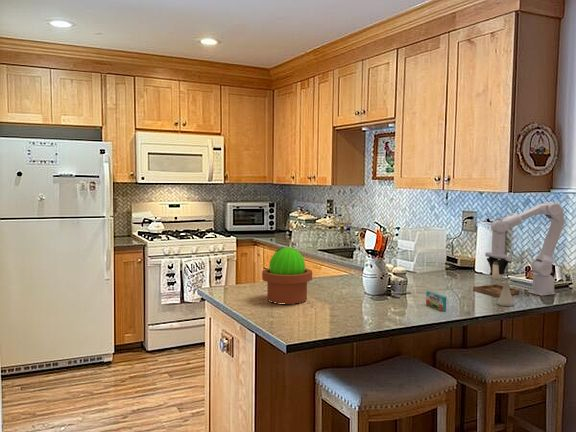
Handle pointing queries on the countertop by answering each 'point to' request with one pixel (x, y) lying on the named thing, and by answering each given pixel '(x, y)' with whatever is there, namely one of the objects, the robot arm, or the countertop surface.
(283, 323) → the countertop surface
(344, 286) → the countertop surface
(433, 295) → the teal printed box
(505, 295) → the flask
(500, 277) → the pepper shaker
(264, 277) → the potted cactus
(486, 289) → the tray
